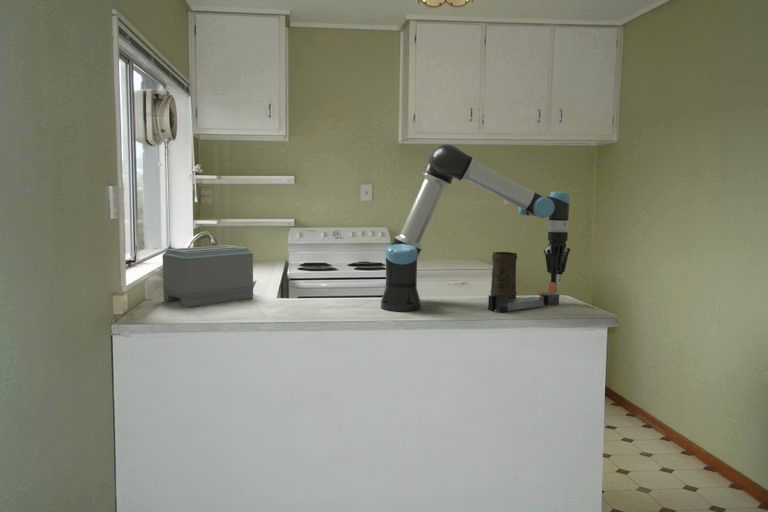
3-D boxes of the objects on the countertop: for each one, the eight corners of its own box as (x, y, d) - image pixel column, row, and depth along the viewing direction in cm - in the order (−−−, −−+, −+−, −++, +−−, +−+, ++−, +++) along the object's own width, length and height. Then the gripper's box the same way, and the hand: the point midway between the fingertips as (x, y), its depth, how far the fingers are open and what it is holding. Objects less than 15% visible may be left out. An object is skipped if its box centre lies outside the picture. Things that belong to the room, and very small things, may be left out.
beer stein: (516, 303, 249) (518, 253, 248) (489, 302, 251) (491, 252, 250) (516, 299, 264) (518, 251, 263) (490, 298, 266) (492, 251, 265)
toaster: (262, 297, 256) (261, 247, 253) (186, 308, 232) (185, 253, 229) (236, 291, 268) (235, 243, 266) (162, 301, 244) (160, 249, 242)
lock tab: (550, 291, 252) (551, 281, 251) (557, 293, 249) (557, 283, 249) (536, 293, 248) (537, 283, 247) (542, 294, 245) (543, 284, 245)
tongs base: (549, 302, 254) (549, 288, 253) (558, 304, 250) (559, 290, 249) (488, 309, 237) (488, 295, 236) (497, 312, 232) (497, 297, 232)
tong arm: (539, 305, 246) (539, 291, 245) (543, 306, 244) (544, 292, 244) (495, 311, 233) (495, 297, 233) (499, 312, 231) (500, 298, 231)
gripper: (553, 232, 242) (550, 293, 244) (576, 231, 249) (573, 290, 251) (539, 230, 248) (536, 290, 251) (562, 230, 255) (559, 287, 258)
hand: (555, 290), depth 251 cm, fingers closed
